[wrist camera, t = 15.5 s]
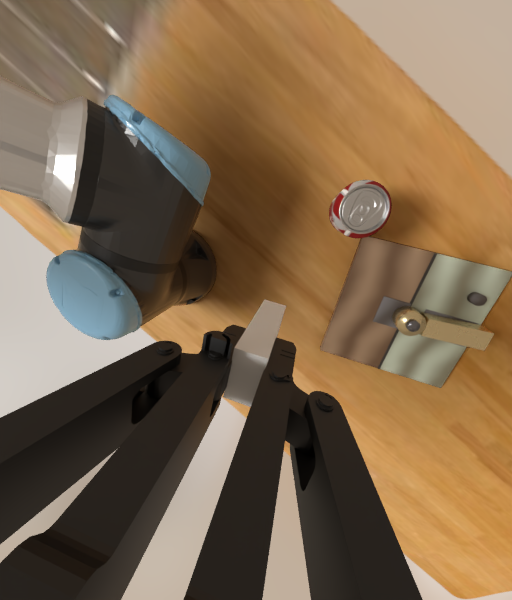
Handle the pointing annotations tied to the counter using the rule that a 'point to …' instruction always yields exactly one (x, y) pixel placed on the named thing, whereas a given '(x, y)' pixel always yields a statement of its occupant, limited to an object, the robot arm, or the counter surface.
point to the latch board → (408, 292)
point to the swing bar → (441, 328)
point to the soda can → (360, 209)
